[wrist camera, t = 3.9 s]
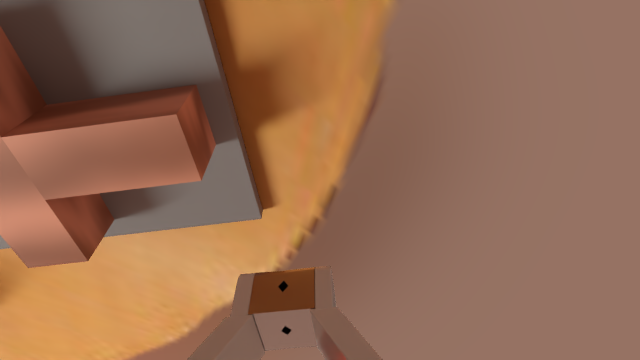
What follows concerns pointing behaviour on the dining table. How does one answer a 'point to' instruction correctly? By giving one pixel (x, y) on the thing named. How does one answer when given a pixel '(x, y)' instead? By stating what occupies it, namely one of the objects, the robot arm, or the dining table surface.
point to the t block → (86, 159)
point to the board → (139, 76)
